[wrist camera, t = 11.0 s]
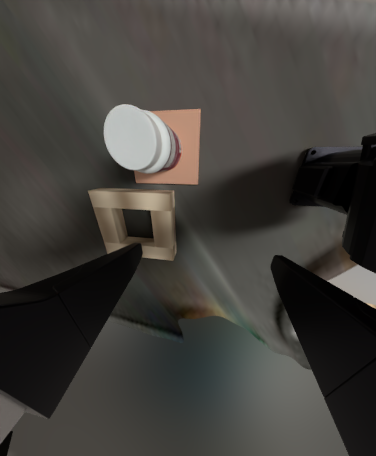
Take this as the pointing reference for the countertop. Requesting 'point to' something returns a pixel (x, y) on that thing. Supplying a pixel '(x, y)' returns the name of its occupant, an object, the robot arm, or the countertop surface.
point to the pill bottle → (141, 140)
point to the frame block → (141, 200)
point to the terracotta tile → (190, 139)
